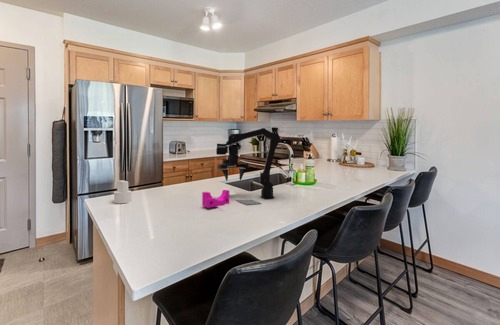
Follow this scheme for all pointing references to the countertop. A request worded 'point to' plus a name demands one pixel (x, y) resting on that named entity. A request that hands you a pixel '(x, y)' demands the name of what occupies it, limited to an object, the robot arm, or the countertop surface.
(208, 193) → the magenta arched bracket
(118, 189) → the cylinder with rectangular tab
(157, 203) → the countertop surface
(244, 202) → the mat
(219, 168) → the robot arm
